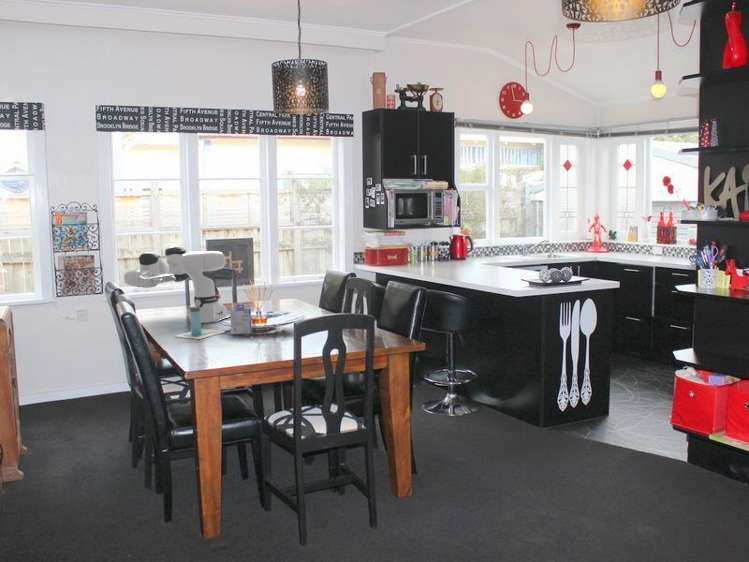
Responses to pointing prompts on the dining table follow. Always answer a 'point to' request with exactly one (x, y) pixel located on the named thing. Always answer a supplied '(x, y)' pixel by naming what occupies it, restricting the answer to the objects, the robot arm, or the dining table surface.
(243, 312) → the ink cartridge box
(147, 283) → the robot arm
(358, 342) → the dining table surface
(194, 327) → the teal canister
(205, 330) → the picture board
